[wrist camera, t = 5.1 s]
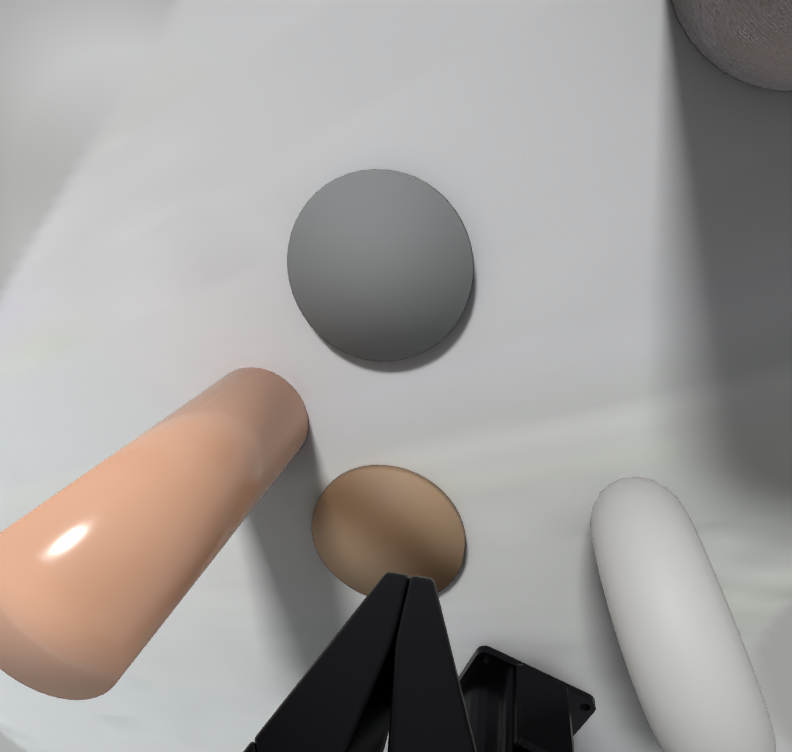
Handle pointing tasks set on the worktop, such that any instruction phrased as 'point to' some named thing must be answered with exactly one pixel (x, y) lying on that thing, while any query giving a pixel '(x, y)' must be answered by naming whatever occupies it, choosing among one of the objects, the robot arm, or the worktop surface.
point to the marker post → (138, 534)
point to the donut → (675, 624)
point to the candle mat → (380, 264)
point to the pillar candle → (743, 38)
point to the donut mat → (387, 528)
